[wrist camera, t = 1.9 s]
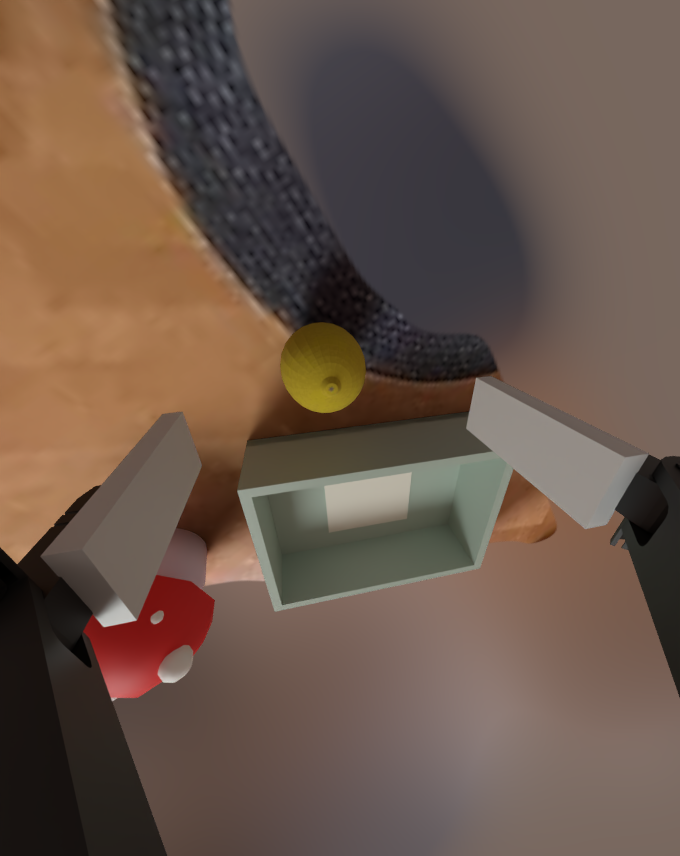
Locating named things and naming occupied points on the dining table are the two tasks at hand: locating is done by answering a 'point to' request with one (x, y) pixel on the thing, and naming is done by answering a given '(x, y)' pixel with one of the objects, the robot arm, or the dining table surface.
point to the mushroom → (159, 624)
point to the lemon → (323, 367)
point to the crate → (369, 506)
